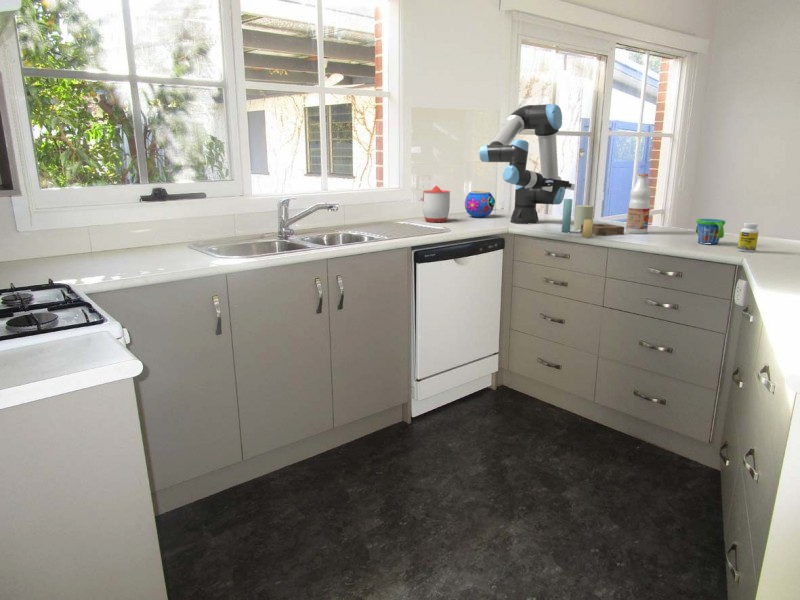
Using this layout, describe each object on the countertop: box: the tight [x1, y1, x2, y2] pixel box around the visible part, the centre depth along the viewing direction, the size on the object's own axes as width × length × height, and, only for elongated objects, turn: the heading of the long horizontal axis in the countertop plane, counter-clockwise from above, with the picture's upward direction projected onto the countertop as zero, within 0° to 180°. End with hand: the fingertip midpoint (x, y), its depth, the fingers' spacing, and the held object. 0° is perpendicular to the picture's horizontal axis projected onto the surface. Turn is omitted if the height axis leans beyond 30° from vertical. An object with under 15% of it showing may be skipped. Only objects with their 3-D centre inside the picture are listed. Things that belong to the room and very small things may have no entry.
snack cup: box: [695, 218, 726, 245], centre depth 239 cm, size 16×10×10 cm
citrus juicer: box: [419, 185, 451, 223], centre depth 313 cm, size 16×17×20 cm
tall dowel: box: [561, 198, 573, 234], centre depth 272 cm, size 4×4×16 cm
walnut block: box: [580, 222, 625, 236], centre depth 271 cm, size 14×14×4 cm
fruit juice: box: [626, 173, 652, 235], centre depth 268 cm, size 9×9×28 cm
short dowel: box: [581, 219, 594, 239], centre depth 257 cm, size 4×4×8 cm
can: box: [573, 204, 595, 230], centre depth 286 cm, size 9×9×12 cm
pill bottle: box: [737, 222, 759, 253], centre depth 221 cm, size 6×6×11 cm
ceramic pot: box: [464, 190, 496, 218], centre depth 334 cm, size 18×18×15 cm
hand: (562, 188), depth 268 cm, fingers open, 13 cm apart
